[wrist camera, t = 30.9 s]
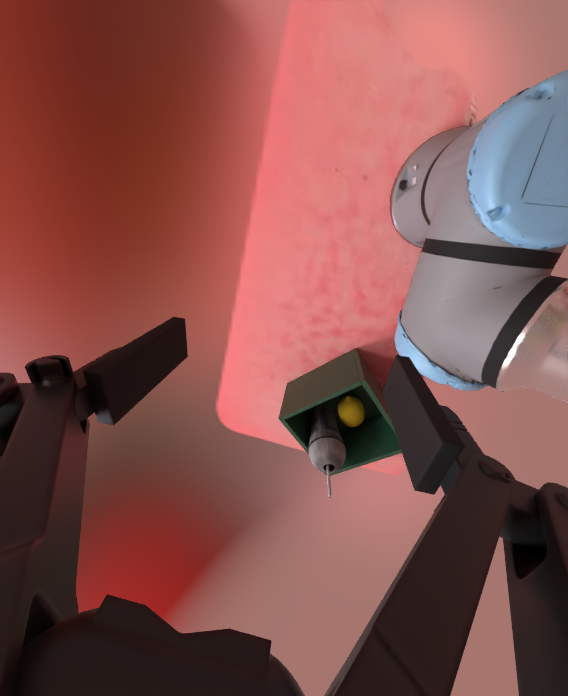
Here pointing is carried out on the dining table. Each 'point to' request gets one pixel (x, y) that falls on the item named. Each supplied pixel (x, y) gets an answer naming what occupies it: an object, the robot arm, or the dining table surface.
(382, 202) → the dining table surface
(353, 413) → the lemon
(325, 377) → the green open box
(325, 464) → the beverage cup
